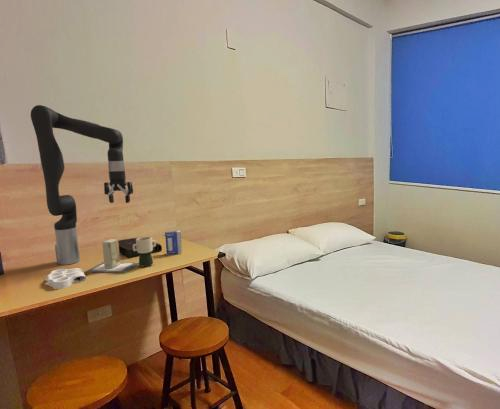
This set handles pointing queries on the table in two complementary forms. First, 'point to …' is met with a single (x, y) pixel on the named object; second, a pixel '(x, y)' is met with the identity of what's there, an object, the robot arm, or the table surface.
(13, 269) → the table surface
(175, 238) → the walkman
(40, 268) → the table surface
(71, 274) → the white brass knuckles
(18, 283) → the table surface
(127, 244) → the diary
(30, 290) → the table surface
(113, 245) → the skincare box
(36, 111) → the robot arm
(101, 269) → the notepad
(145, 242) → the character mug
